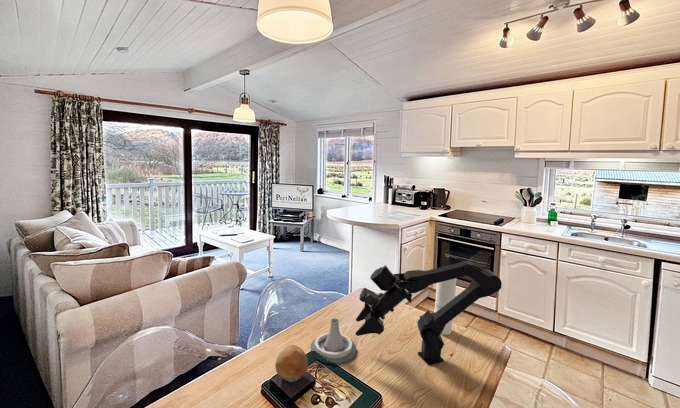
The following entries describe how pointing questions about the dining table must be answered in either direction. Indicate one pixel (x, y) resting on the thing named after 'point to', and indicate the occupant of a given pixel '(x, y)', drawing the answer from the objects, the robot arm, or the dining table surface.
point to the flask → (334, 337)
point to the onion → (291, 362)
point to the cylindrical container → (445, 299)
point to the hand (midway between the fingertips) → (356, 327)
